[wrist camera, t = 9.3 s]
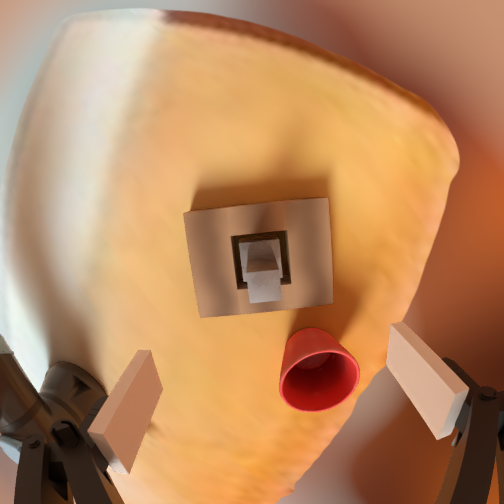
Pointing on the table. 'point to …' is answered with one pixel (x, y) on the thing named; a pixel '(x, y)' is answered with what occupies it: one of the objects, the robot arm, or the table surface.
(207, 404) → the table surface
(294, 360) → the flower pot
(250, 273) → the grey stepped bar
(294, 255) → the well block
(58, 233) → the table surface
